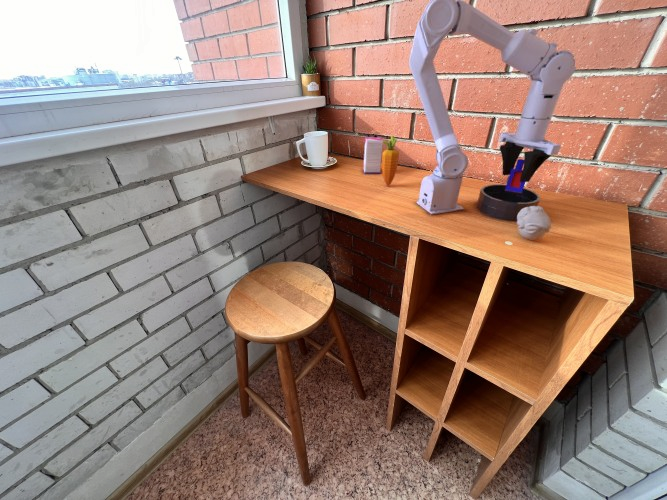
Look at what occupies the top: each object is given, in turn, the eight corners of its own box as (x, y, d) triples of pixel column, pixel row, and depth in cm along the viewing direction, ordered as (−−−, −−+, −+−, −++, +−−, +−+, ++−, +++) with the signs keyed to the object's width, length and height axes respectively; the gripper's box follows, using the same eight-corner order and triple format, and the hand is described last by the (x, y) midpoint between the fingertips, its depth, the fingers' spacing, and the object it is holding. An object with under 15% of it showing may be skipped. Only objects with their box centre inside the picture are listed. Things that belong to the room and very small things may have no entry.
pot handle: (511, 191, 76) (513, 186, 75) (505, 190, 77) (507, 185, 76) (512, 180, 84) (514, 174, 83) (506, 179, 85) (508, 174, 84)
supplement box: (380, 173, 101) (383, 140, 95) (364, 174, 102) (365, 140, 95) (378, 169, 106) (381, 136, 100) (363, 169, 107) (364, 137, 100)
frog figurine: (529, 229, 65) (540, 200, 61) (552, 244, 59) (566, 214, 56) (504, 231, 65) (514, 202, 61) (525, 247, 59) (537, 216, 55)
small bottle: (520, 195, 71) (530, 163, 69) (521, 192, 67) (533, 158, 66) (504, 193, 72) (514, 161, 71) (504, 190, 68) (515, 156, 67)
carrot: (388, 190, 88) (393, 139, 80) (376, 186, 91) (379, 136, 83) (398, 186, 91) (404, 136, 82) (386, 182, 94) (390, 134, 86)
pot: (502, 224, 67) (508, 206, 65) (465, 203, 78) (469, 187, 76) (546, 216, 70) (553, 199, 68) (505, 197, 81) (510, 182, 79)
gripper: (582, 121, 57) (555, 186, 64) (523, 112, 69) (506, 168, 76) (554, 123, 56) (530, 189, 63) (499, 114, 67) (484, 170, 75)
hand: (515, 178), depth 69 cm, fingers closed on small bottle, 5 cm apart
